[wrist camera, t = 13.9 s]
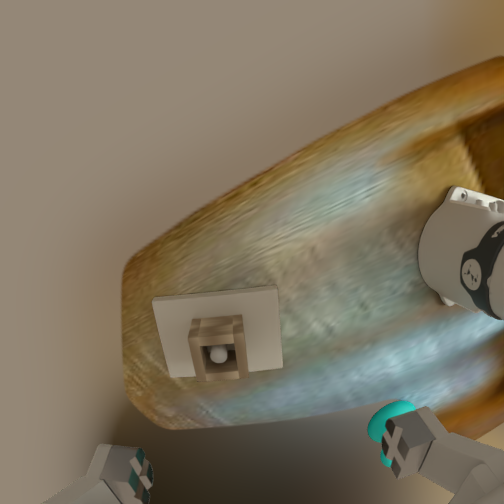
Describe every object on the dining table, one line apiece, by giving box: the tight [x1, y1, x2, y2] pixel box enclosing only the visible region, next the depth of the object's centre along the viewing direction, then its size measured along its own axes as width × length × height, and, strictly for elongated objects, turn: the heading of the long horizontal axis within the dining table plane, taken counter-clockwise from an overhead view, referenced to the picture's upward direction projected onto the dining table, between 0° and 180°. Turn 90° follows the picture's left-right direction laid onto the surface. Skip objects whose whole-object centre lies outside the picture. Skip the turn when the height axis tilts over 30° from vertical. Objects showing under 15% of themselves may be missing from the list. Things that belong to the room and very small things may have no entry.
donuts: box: [368, 401, 416, 467], centre depth 44 cm, size 10×10×10 cm
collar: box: [188, 314, 249, 382], centre depth 38 cm, size 6×6×5 cm
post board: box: [152, 285, 283, 377], centre depth 39 cm, size 16×12×6 cm
